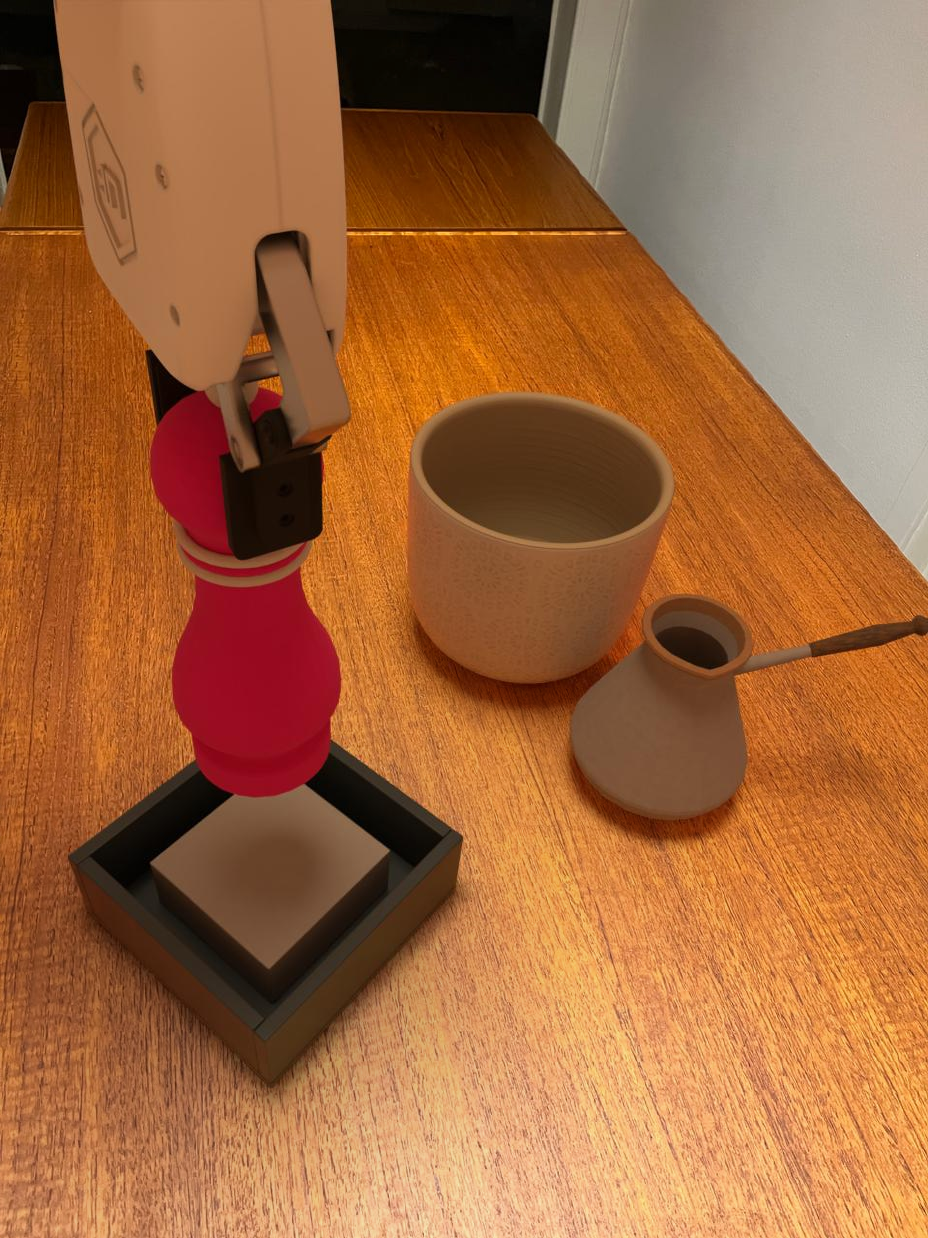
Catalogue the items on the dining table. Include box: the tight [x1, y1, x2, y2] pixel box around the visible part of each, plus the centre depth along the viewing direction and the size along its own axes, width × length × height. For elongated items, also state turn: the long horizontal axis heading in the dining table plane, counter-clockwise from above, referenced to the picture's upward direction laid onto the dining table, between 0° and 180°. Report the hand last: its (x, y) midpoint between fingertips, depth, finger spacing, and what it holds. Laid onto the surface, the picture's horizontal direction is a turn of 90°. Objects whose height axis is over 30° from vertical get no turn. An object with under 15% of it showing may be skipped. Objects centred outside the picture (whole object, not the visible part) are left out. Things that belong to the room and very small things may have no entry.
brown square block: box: [150, 784, 390, 1004], centre depth 53 cm, size 9×9×4 cm
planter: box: [406, 391, 676, 684], centre depth 67 cm, size 17×17×15 cm
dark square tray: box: [67, 739, 464, 1089], centre depth 53 cm, size 15×15×6 cm
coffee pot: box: [569, 592, 928, 821], centre depth 60 cm, size 21×12×15 cm, turn 92°
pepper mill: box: [149, 381, 342, 798], centre depth 38 cm, size 7×7×20 cm
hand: (237, 485), depth 35 cm, fingers closed on pepper mill, 6 cm apart
